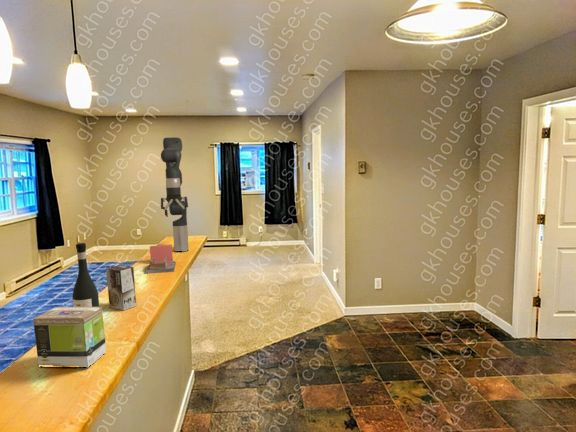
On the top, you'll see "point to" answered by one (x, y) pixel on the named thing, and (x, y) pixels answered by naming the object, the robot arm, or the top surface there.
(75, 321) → the tea box
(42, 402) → the top surface
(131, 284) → the coffee box
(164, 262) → the bookend
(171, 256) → the book
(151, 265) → the book rack
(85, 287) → the wine bottle
